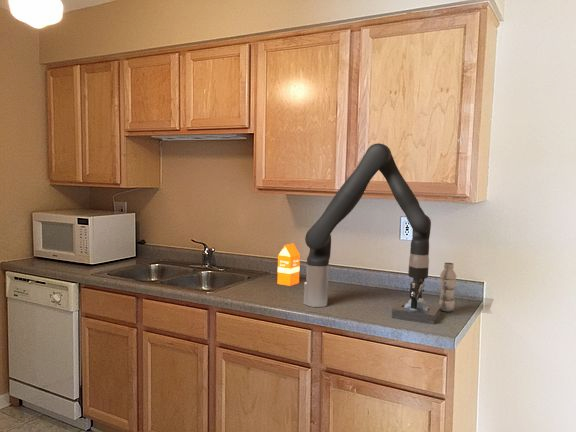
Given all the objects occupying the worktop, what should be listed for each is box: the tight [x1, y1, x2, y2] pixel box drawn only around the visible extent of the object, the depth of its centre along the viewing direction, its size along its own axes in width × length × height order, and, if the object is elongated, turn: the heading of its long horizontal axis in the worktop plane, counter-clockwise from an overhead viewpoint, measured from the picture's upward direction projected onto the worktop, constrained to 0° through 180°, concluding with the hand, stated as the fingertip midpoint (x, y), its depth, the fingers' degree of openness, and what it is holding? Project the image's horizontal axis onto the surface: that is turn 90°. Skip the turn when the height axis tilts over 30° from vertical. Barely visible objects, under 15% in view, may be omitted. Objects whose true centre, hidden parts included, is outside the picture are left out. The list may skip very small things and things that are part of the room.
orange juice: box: [276, 242, 301, 287], centre depth 247 cm, size 8×9×20 cm
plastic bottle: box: [438, 262, 457, 312], centre depth 202 cm, size 6×7×20 cm
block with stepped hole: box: [391, 301, 442, 325], centre depth 194 cm, size 16×14×4 cm
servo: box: [404, 297, 430, 311], centre depth 194 cm, size 9×4×7 cm, turn 63°
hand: (416, 305), depth 194 cm, fingers open, 7 cm apart
